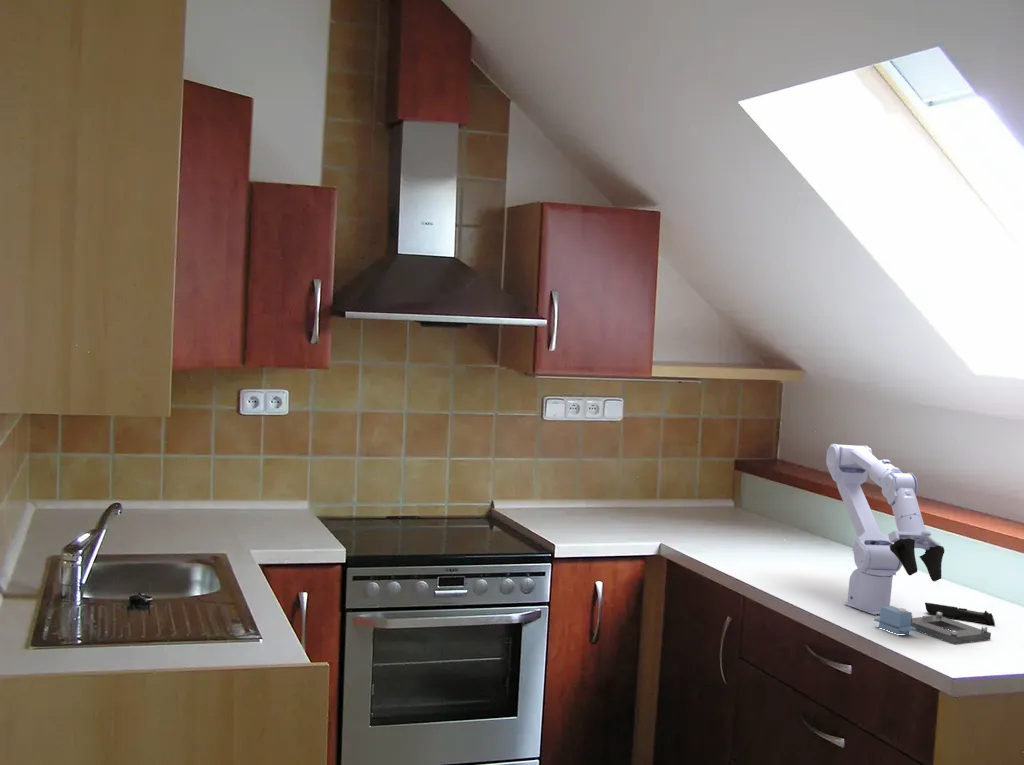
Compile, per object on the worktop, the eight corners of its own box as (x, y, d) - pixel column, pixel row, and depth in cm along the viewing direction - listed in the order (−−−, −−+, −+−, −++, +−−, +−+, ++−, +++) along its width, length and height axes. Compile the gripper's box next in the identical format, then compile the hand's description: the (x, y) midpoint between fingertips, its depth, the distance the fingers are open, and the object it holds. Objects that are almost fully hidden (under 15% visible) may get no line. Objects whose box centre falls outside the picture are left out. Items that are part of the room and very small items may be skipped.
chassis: (901, 625, 251) (903, 614, 251) (937, 621, 257) (938, 610, 257) (953, 644, 239) (955, 632, 239) (990, 639, 245) (991, 628, 245)
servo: (873, 627, 249) (875, 602, 248) (884, 626, 250) (886, 601, 250) (903, 638, 241) (906, 612, 241) (915, 637, 243) (917, 611, 243)
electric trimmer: (924, 613, 267) (925, 600, 267) (994, 624, 260) (996, 610, 260) (923, 616, 263) (924, 603, 263) (994, 627, 257) (995, 614, 257)
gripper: (899, 506, 245) (915, 563, 237) (945, 519, 251) (962, 575, 243) (876, 520, 250) (891, 576, 242) (921, 532, 256) (937, 587, 248)
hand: (925, 576), depth 243 cm, fingers open, 7 cm apart
